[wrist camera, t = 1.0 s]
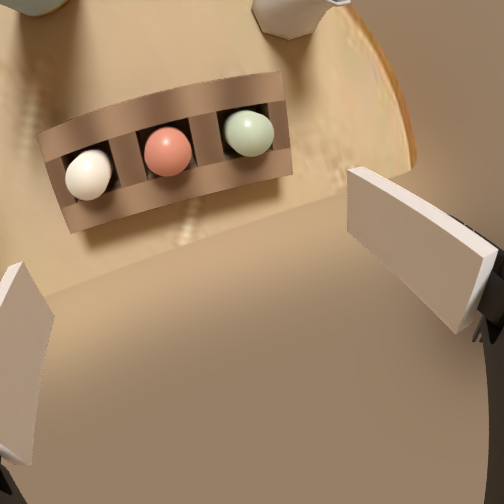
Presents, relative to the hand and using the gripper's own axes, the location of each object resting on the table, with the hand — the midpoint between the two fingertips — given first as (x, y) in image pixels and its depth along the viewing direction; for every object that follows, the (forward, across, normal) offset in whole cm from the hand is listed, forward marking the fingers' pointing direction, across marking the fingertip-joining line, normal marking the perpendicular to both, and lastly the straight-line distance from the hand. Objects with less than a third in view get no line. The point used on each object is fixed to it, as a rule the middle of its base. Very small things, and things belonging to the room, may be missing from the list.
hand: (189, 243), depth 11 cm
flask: (+21, +14, +12) cm, 28 cm away
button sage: (+19, +7, 0) cm, 20 cm away
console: (+21, 0, 0) cm, 21 cm away
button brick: (+19, 0, 0) cm, 19 cm away
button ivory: (+19, -7, 0) cm, 20 cm away
